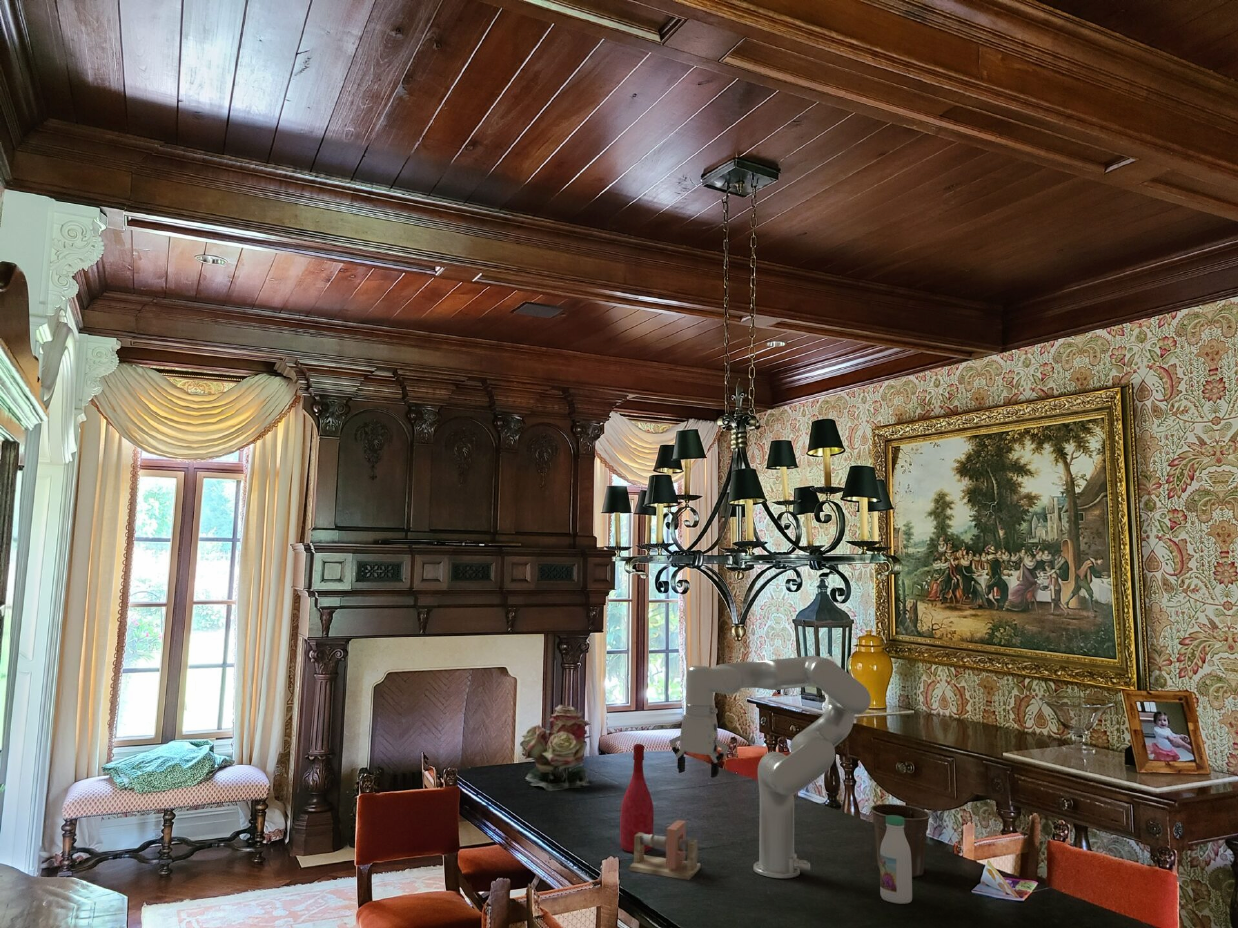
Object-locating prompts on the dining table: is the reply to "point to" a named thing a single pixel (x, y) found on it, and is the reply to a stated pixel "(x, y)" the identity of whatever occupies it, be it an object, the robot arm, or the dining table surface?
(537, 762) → the rose bouquet
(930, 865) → the dining table surface
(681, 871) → the rail stand
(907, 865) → the milk bottle
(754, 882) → the dining table surface
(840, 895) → the dining table surface
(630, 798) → the wine bottle
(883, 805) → the plant pot
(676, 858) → the collar
